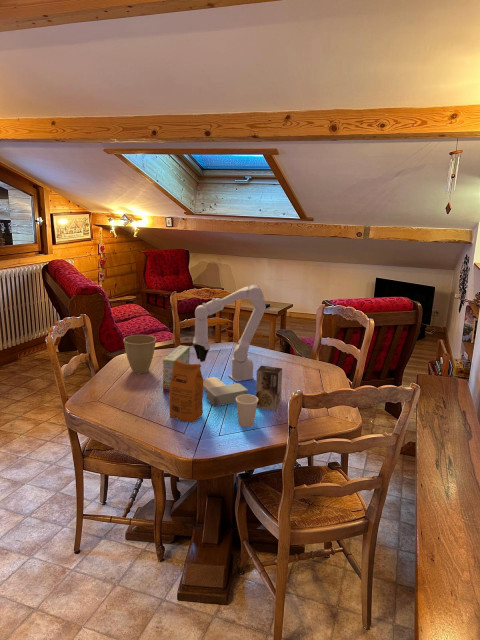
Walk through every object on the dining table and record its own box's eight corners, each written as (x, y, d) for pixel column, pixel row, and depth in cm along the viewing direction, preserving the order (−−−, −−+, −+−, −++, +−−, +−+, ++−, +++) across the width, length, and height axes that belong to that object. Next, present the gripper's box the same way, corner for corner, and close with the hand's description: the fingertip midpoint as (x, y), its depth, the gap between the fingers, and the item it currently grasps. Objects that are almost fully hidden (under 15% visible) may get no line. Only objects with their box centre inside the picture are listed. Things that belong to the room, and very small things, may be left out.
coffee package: (179, 407, 183) (179, 355, 177) (206, 414, 178) (207, 360, 172) (164, 417, 174) (164, 362, 169) (192, 425, 169) (192, 369, 163)
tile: (215, 381, 212) (215, 376, 211) (228, 391, 201) (228, 386, 200) (197, 384, 208) (197, 379, 207) (209, 395, 197) (209, 390, 196)
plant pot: (133, 379, 210) (132, 345, 206) (119, 369, 221) (118, 337, 217) (162, 372, 219) (161, 340, 215) (147, 363, 230) (146, 332, 226)
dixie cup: (259, 428, 169) (260, 402, 166) (237, 429, 167) (238, 404, 164) (254, 417, 176) (255, 393, 174) (233, 419, 175) (233, 394, 172)
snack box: (175, 394, 196) (174, 360, 192) (162, 392, 197) (161, 359, 193) (190, 376, 216) (190, 345, 212) (178, 375, 217) (178, 344, 213)
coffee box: (280, 405, 188) (283, 367, 184) (276, 411, 182) (278, 373, 178) (259, 401, 191) (261, 364, 186) (254, 407, 185) (256, 370, 181)
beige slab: (238, 392, 199) (238, 383, 197) (247, 399, 192) (247, 389, 191) (206, 398, 192) (206, 388, 190) (214, 406, 185) (214, 396, 184)
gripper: (187, 328, 213) (187, 356, 217) (199, 337, 201) (199, 366, 204) (201, 327, 217) (201, 354, 220) (214, 335, 204) (213, 364, 208)
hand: (201, 360), depth 212 cm, fingers open, 3 cm apart
